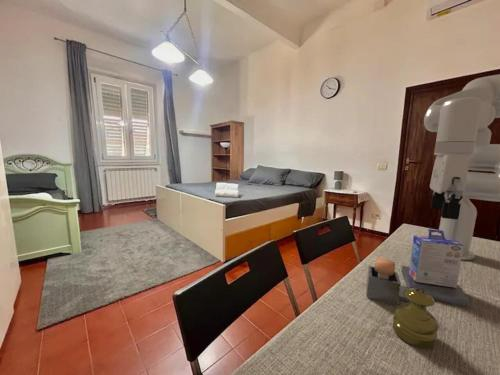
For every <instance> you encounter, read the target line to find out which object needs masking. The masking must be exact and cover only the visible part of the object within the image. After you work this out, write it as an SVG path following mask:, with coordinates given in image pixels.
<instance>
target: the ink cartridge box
mask: <svg viewBox="0 0 500 375" xmlns="http://www.w3.org/2000/svg"><path fill="white" fill-rule="evenodd" d="M432 233H437V234H432ZM438 233H440V234H441V236H439V235H438ZM411 246H412V249H411V256H410V265H409V267H410V270H409V274H410V276H411V277H412V278H413V279H414V281H415V282H420V283H427V284H434V285H441V286H447V287H454V288H456V287H457V285H458V281H459V275H460V268H461V261H462V260H461V258H462V252H463V247H464V246H463V245H462V244H461V243H459V242H457V241H456V240H454V239H450V238H445V237H444V232H443V230H439V229H432V228H431V229H430V228H429V229H428V236H426V235H416V234H415V235H413V238H412V245H411Z"/></svg>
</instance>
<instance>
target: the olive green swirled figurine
mask: <svg viewBox="0 0 500 375" xmlns="http://www.w3.org/2000/svg"><path fill="white" fill-rule="evenodd" d="M404 294H405V296H406V297H407V298H408V299H409V301H410V302H406V303H400V304H398V305H397V306H394V310H393V311H394V312H393V313H394V315H393V317H392V329H393V332H394V333H395V334H396V336H397V337H399V338H400V339H401V340H402V341H404V342H405V343H407V344H409V345H411V346H413V347H416V348H418V349H423V350H429V349H433V348H435V346H436V343H437V338H438V331H439V328H440V324H439V322H438V320H437V318H435V316H434V315H433V314H431V312H430V311H429V310H428V309H427V308H428V307H432V306H434V305H435V303H436V302H435V301H436V300H434V298H433V297H432V296H431V295H429V294H428V293H426V292H424V291H423V290H421V289H415V288H409V289H406V290H405V291H404Z"/></svg>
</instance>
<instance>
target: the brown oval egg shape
mask: <svg viewBox="0 0 500 375" xmlns="http://www.w3.org/2000/svg"><path fill="white" fill-rule="evenodd" d="M374 262H375V263H374V267H375V268H374V269H375V270H376V271H377V272H378V278H382V279H386V280H388V279H389V275H393V274H394V271H395V268H396V263H395V262H394V261H393V260H391V259H389V258H384V257H377V258H375V260H374Z"/></svg>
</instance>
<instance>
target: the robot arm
mask: <svg viewBox="0 0 500 375" xmlns="http://www.w3.org/2000/svg"><path fill="white" fill-rule="evenodd" d="M499 118H500V73H499V74H493V75H488V76H482V77H477V78H475V79H473V80H471V81H469V82H467V84H465V86H464V87H463V88H462V90H459V91H458V92H454V93H452V94H450V95H449V94H448V95H447V96H444V97H441V98H439V99H436V100H435V101H433V103H432V104H431V105H430V106H429V107H428V109H427V110H426V112H425V114H424V117H423V126H424V128H425V129H426V131H429V132H430V133H436V139H435V140H436V141H435V145H434V146H435V147H434V151H433V152H434V154H433V155H434V156H435V160H434V164H433V168H432V172H431V173H432V174H431V178H430V182H429V183H430V184H429V188H430V190H432V191H433V192H432V195H431V202H430V209H432V210H439V211H440V210H441V214H440V215H441V216H440V222H439V226H438V230H443V232H444V237H445V238H450V239H454V240H456V241H457V242H459V243H461V244H462V245H463V246H464V247H463V252H462V258H461V261H462V260H463V261H470V260H471V261H472V260H474V259H475V258H476V257H475V254H474V252H471V251H470V250H471V246H472V239H473V236H474V229H475V226H476V219H477V216H478V211H477V208H476V206H475V205H474V204H473V203H472V202H471V200H470V199H473V200H480V201H488V202H500V143H499V144H498V143H494V144H492V143H490V142H491V139H492V138H491V137H492V135H493V134H492V131H491V129H490V128H489V127H488V126H490V125H491V124H492V123H493V122H494V120H495V119H499ZM477 171H478V172H477ZM479 171H482V172H479ZM489 172H493V173H489ZM437 235H439V236H441V234H440V233H438V232H437Z"/></svg>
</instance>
